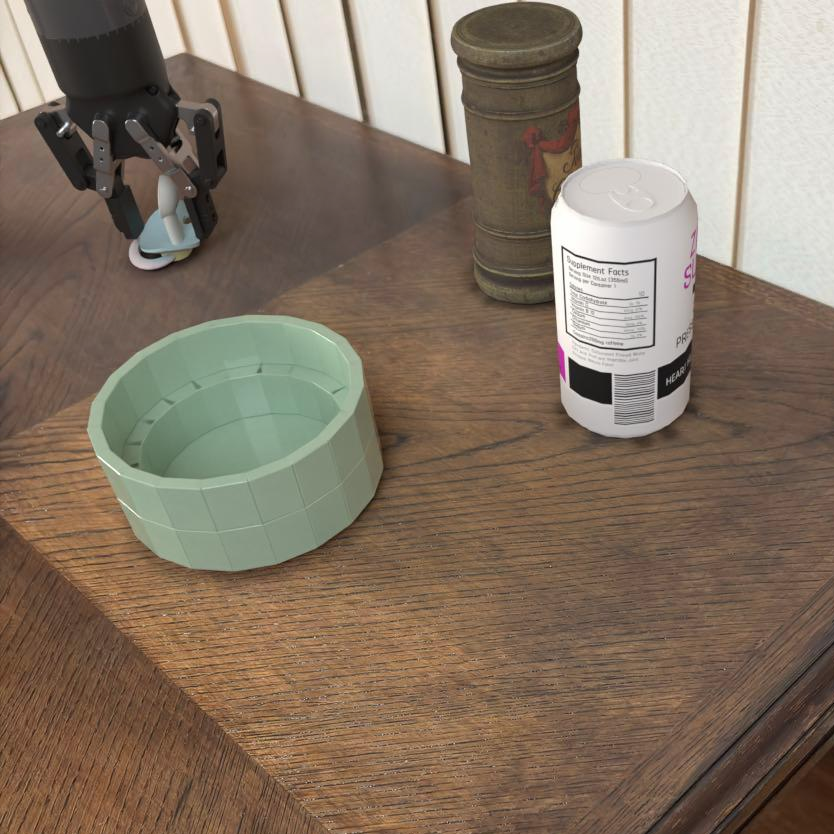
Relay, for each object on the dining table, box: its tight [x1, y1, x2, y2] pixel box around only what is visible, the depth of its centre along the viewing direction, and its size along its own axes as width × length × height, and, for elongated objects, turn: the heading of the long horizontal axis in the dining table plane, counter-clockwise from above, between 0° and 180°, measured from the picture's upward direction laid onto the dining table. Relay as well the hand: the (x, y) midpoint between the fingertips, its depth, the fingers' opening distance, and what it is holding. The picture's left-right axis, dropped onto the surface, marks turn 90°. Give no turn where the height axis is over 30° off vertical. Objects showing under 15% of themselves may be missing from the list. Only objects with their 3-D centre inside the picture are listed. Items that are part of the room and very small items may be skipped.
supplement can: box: [551, 157, 699, 439], centre depth 64 cm, size 8×8×15 cm
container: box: [450, 1, 584, 305], centre depth 74 cm, size 9×9×18 cm
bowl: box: [86, 314, 384, 573], centre depth 63 cm, size 16×16×7 cm
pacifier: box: [128, 174, 201, 271], centre depth 84 cm, size 7×6×6 cm
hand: (170, 233), depth 85 cm, fingers closed on pacifier, 5 cm apart
